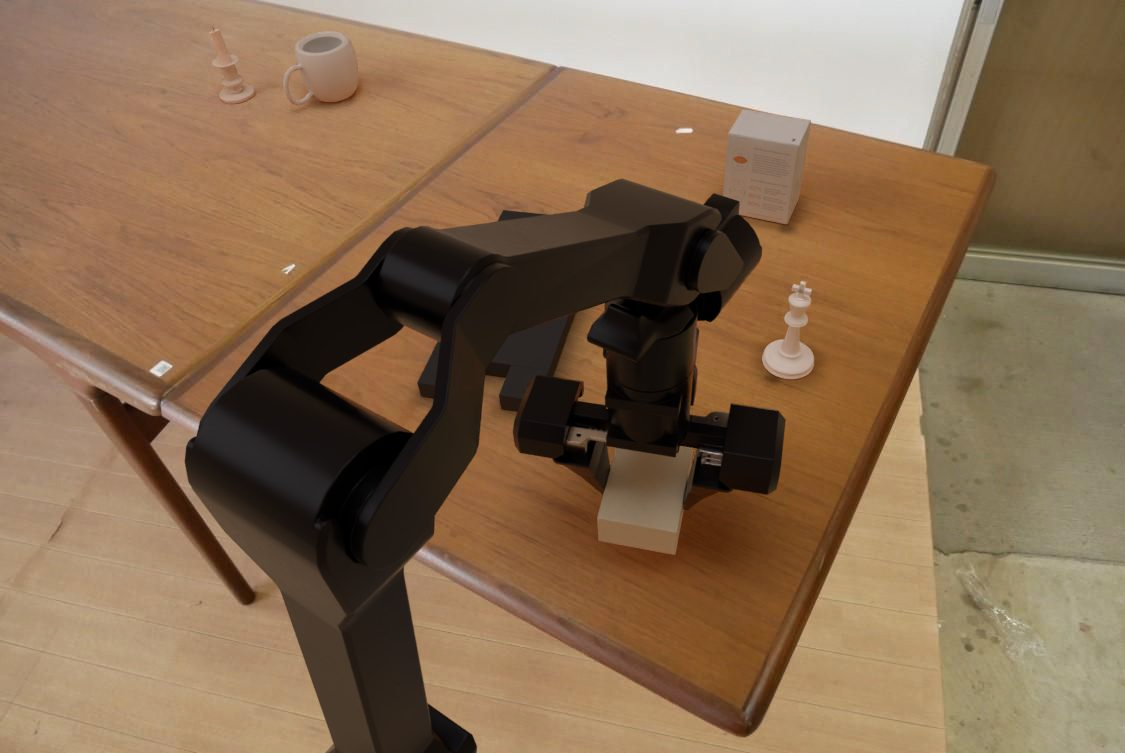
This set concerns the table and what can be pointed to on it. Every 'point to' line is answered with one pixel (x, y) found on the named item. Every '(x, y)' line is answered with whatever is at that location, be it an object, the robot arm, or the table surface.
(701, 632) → the table surface
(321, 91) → the mug
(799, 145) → the small box
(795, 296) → the chess piece
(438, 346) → the socket pad
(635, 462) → the beige stepped block
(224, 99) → the candle
